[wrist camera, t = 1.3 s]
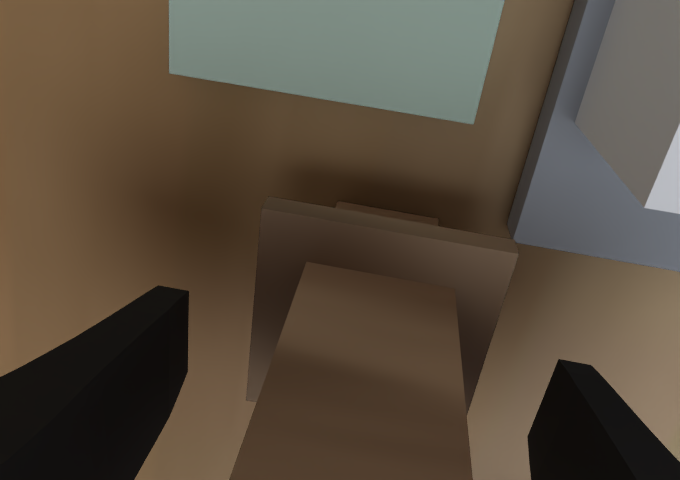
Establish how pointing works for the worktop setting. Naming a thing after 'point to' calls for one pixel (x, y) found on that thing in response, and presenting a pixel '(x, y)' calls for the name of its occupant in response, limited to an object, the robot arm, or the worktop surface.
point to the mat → (343, 49)
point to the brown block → (367, 343)
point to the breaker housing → (608, 139)
